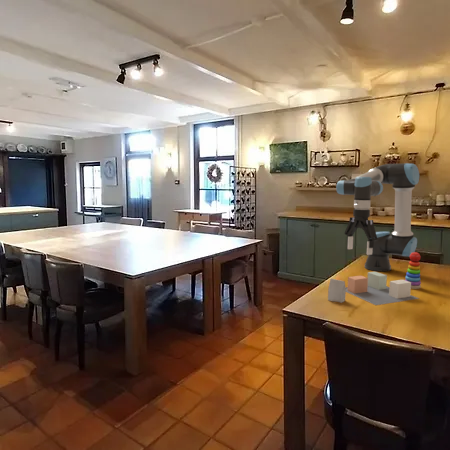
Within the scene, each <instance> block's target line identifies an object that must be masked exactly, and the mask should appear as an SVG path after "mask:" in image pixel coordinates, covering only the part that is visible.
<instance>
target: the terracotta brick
mask: <svg viewBox="0 0 450 450" xmlns="http://www.w3.org/2000/svg"><path fill="white" fill-rule="evenodd" d="M347 287H348V290H347V291H350V292H352V293H354V294H355V293H362V292H367V288H368V277H366V276H363V275H354V276H348V277H347Z"/></svg>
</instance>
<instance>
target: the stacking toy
mask: <svg viewBox="0 0 450 450" xmlns="http://www.w3.org/2000/svg"><path fill="white" fill-rule="evenodd" d="M409 259H410V261H408V265H407V267H408V268H407V272H406V273H405V274H406V275H405V276H404V277H405V279H404V280H405V281H408V282H411V290H412V289H413V290H420V289H421V288H422V286H421V284H422V282H421V270H420V269H421V266H420V265H421V263H420V260H421V255H420V253H419V252H417V251H415V252H413V253H411V254H410V256H409Z"/></svg>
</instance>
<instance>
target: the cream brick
mask: <svg viewBox="0 0 450 450" xmlns="http://www.w3.org/2000/svg"><path fill="white" fill-rule="evenodd" d="M389 287H390V289H389V295H390V296H392V297H395V298H397V299H398V298H404V297H410V295H411V290H412V289H411V282H408V281H405V279H397V280H390V281H389Z"/></svg>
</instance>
